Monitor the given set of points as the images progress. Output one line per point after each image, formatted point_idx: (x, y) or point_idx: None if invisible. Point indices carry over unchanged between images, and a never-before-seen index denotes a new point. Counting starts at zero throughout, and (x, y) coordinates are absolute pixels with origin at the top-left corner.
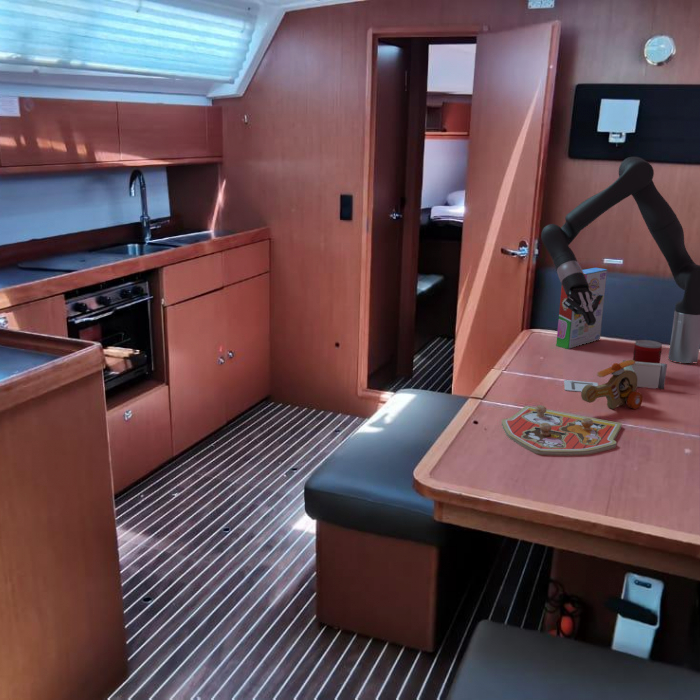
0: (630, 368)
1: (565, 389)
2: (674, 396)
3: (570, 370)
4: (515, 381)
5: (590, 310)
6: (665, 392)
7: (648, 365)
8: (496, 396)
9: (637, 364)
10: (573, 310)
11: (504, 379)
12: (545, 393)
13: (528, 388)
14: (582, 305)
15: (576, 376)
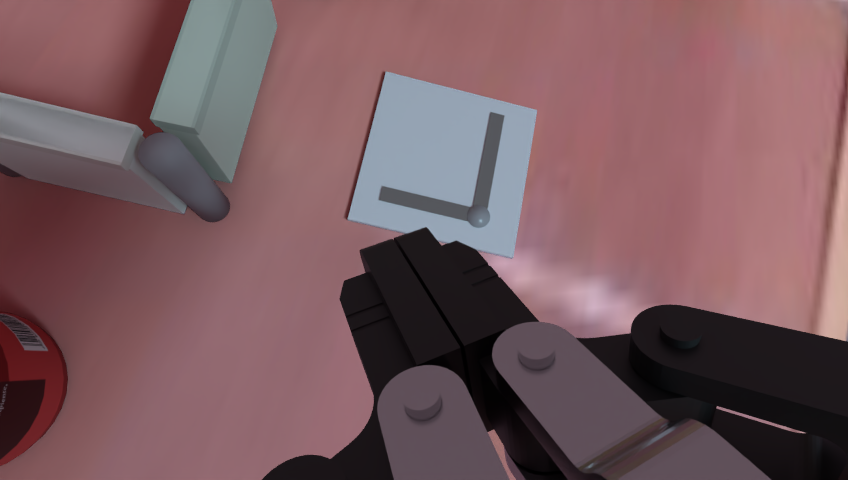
0: (202, 6)
1: (533, 113)
2: (16, 43)
3: None
4: (741, 231)
5: (445, 379)
6: (29, 98)
7: (20, 101)
8: (809, 41)
9: (95, 118)
10: (778, 429)
11: (790, 258)
12: (623, 76)
13: (688, 136)
14: (688, 439)
15: None
